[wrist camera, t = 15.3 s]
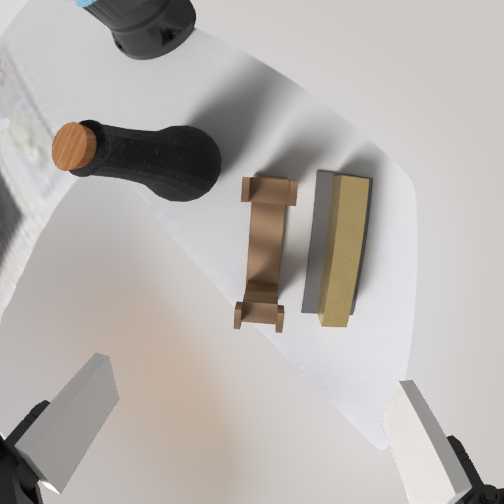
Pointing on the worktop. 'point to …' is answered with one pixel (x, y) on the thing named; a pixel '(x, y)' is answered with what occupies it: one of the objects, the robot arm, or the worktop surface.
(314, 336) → the worktop surface
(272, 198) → the rack
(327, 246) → the rail
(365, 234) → the mat
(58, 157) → the bottle
